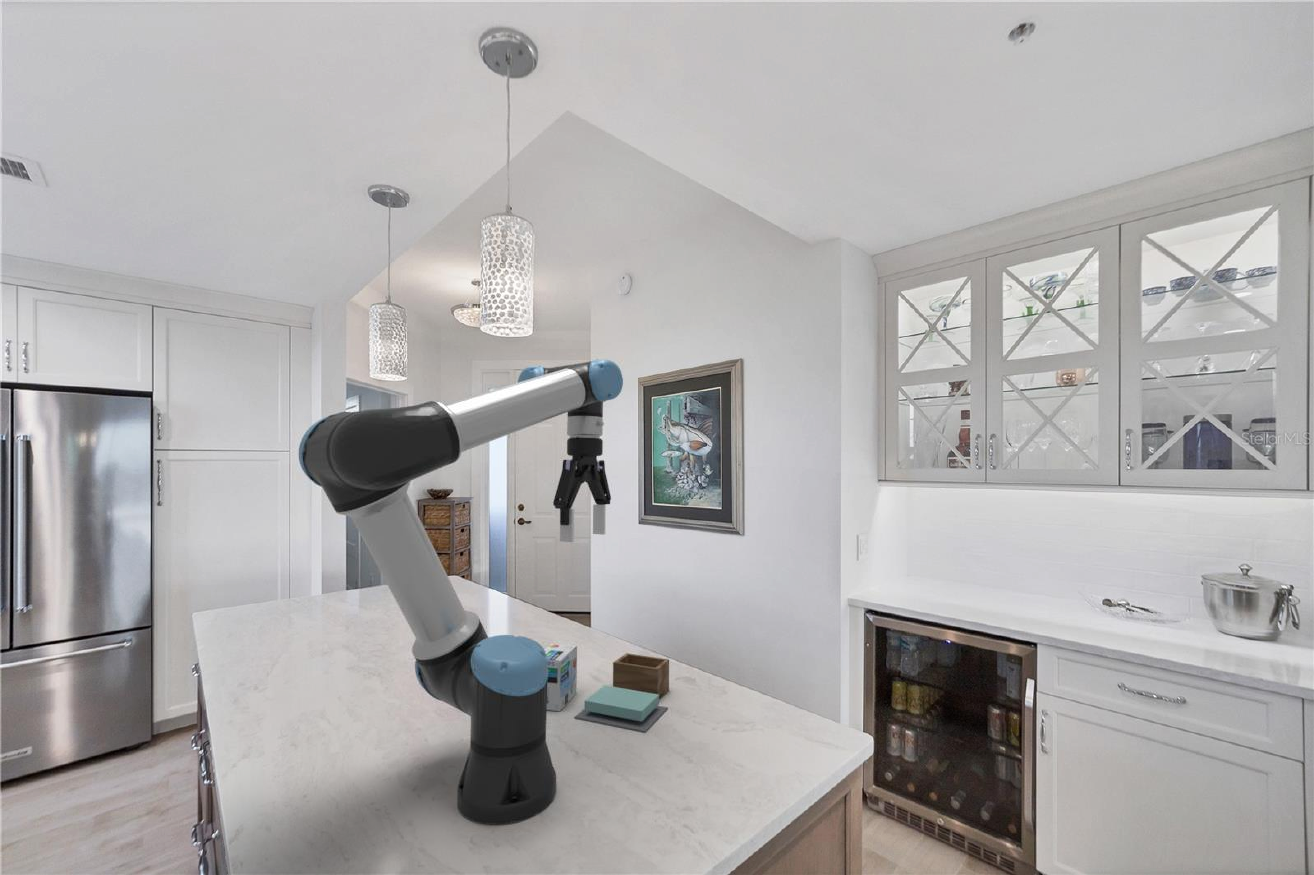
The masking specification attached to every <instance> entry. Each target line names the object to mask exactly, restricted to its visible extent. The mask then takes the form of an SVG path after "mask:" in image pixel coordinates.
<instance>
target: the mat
mask: <svg viewBox="0 0 1314 875" xmlns="http://www.w3.org/2000/svg"><path fill="white" fill-rule="evenodd" d="M668 709H669V707H668V706H663V705H658V706H657V707H656V708H655V709H654V710H653V711H652V712H651V713H650V714H649V715H648V716H647V717H646V718H645V719H644V720H643V721H642V722H641V721H636V720H631V719H626V718H621V717H616V716H611V715H605V714H600V713H595V712H590V711H585V710H584V709H582V710H581V711H580V712H579V713H578V714H576V715H575V716H574V717H573V718H574V719H575V720H580V721H586V722H591V723H594V724H595V723H596V724H601V725H606V726H610V727H614V728H621V729H626V730H630V731H636V732H640V733H645V734H646V733H647V732H648V730H650V729H651V728H652V727H653V726H654V725H655V723H656V722H658V720H659V719H660V718H661V717H662V716H663V715H664V713H665V712H667V711H668Z"/></svg>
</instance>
